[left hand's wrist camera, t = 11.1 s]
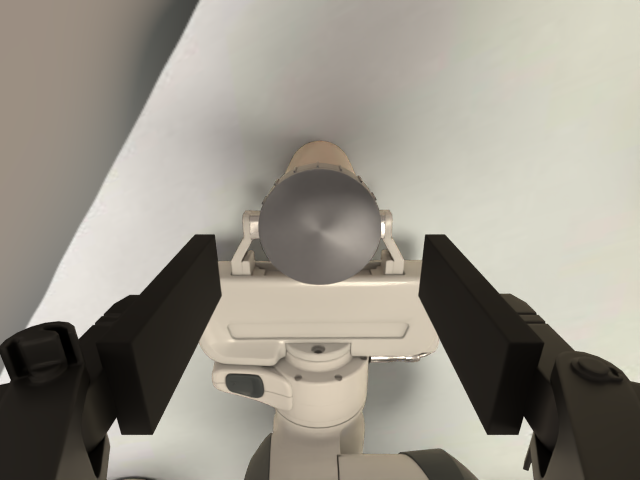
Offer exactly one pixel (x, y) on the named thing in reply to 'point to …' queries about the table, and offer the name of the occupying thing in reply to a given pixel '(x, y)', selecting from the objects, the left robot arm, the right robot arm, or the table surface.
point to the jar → (320, 155)
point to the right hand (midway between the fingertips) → (317, 212)
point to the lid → (320, 224)
